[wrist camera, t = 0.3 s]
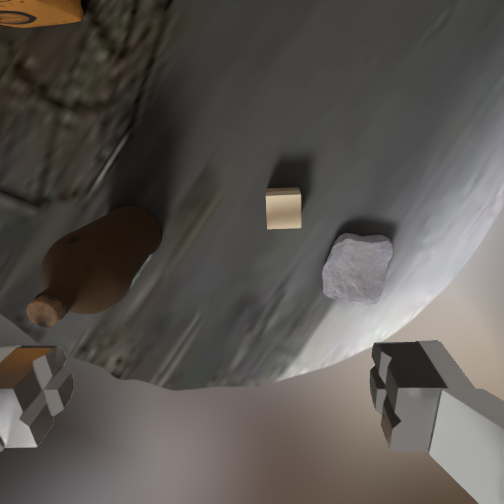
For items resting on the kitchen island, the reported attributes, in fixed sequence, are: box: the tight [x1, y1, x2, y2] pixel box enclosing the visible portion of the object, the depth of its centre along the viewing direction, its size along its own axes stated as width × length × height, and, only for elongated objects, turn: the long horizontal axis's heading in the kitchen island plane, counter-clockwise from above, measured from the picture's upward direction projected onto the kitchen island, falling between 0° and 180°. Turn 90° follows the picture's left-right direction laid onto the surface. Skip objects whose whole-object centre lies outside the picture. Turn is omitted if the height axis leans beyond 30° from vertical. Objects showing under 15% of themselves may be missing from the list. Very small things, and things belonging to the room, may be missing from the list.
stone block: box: [322, 233, 393, 306], centre depth 56 cm, size 12×5×10 cm
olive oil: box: [26, 206, 161, 327], centre depth 46 cm, size 11×11×25 cm
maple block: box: [266, 187, 301, 229], centre depth 52 cm, size 5×5×5 cm
